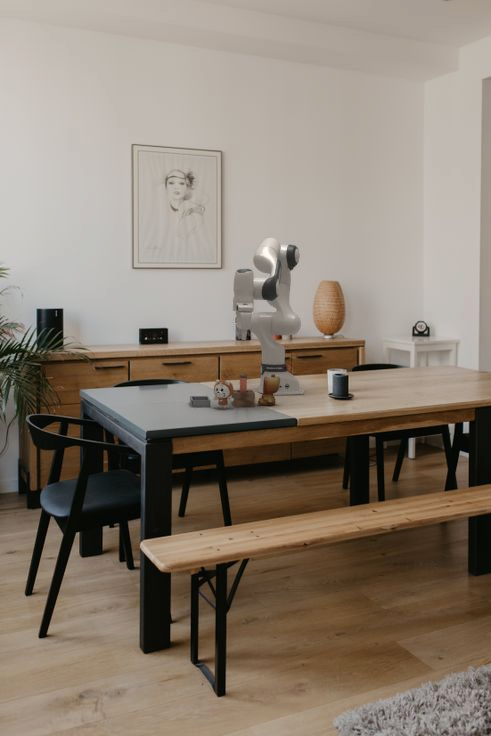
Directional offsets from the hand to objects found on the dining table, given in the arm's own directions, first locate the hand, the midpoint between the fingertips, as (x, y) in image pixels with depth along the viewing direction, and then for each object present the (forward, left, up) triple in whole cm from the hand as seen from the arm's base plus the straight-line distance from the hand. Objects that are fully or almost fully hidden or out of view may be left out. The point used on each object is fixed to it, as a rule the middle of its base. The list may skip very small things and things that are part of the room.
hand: (242, 339), depth 297 cm
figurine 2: (-12, 0, -29) cm, 31 cm away
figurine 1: (+9, +9, -29) cm, 31 cm away
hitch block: (-1, +1, -29) cm, 29 cm away
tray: (+18, 0, -29) cm, 34 cm away
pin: (-1, +1, -29) cm, 29 cm away
